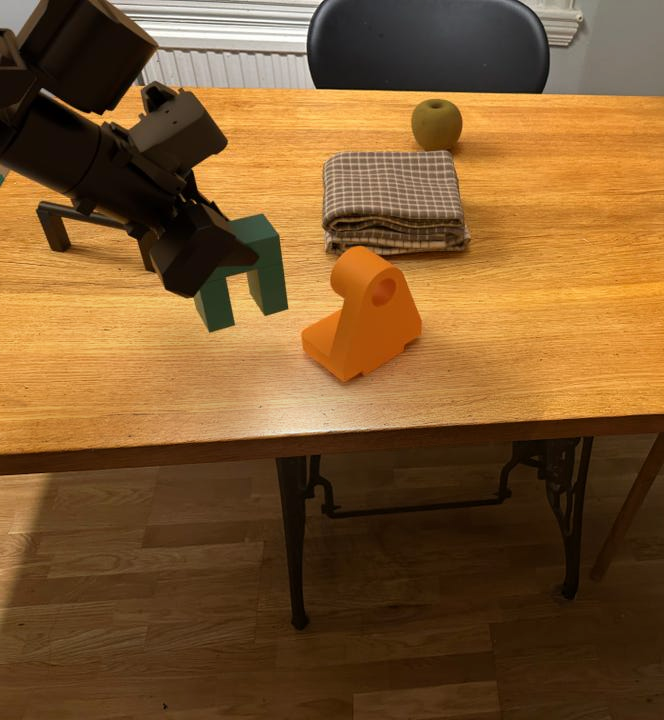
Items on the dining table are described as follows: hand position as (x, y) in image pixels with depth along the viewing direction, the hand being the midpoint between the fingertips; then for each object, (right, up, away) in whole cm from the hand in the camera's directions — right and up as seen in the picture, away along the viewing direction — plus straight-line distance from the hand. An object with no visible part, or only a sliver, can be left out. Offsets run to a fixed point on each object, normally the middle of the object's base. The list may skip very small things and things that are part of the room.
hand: (247, 248), depth 63 cm
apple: (+14, +23, +46) cm, 54 cm away
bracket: (+8, -9, +12) cm, 17 cm away
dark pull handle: (-23, +2, +19) cm, 30 cm away
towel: (+10, +7, +29) cm, 32 cm away
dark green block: (-2, -5, +4) cm, 7 cm away
